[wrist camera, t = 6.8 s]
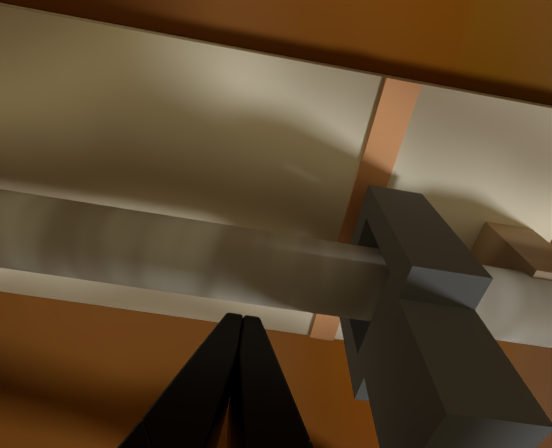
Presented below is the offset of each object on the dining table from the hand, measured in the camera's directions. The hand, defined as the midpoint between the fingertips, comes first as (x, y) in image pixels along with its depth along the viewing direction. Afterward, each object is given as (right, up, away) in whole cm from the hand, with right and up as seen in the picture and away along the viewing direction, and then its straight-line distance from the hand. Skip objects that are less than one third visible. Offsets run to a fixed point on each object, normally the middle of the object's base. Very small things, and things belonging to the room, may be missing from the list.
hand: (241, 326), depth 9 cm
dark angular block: (+5, +2, +5) cm, 7 cm away
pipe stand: (-1, +4, +7) cm, 8 cm away
